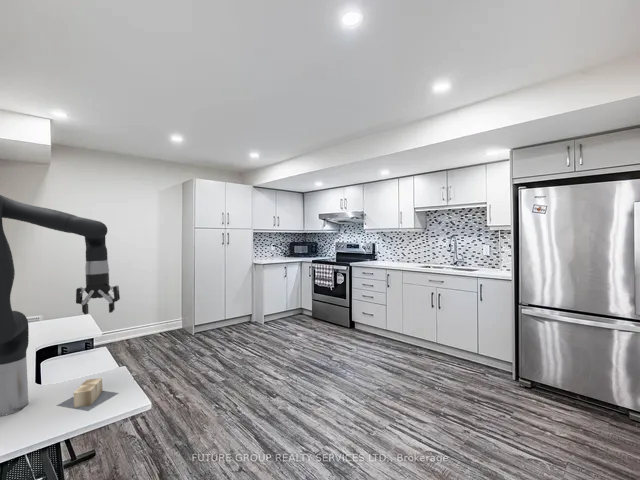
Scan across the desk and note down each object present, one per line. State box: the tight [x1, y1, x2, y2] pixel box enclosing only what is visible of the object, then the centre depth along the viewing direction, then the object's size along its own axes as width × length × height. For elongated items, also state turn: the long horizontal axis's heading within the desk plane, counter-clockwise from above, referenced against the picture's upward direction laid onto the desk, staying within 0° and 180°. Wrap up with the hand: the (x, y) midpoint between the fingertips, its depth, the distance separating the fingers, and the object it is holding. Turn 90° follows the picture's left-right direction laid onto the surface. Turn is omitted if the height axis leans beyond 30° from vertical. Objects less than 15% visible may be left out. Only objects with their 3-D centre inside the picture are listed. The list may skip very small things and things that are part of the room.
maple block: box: [73, 377, 104, 407], centre depth 115 cm, size 5×5×10 cm
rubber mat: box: [56, 390, 119, 412], centre depth 115 cm, size 14×12×1 cm
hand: (98, 313), depth 127 cm, fingers open, 8 cm apart
